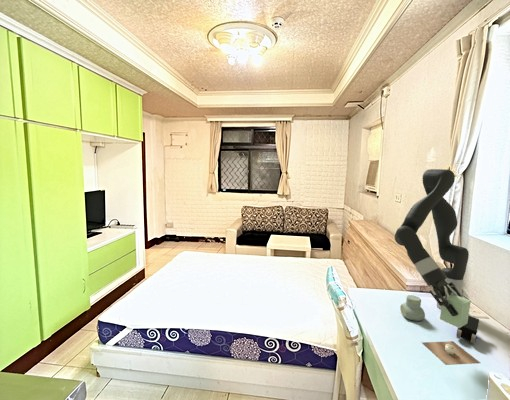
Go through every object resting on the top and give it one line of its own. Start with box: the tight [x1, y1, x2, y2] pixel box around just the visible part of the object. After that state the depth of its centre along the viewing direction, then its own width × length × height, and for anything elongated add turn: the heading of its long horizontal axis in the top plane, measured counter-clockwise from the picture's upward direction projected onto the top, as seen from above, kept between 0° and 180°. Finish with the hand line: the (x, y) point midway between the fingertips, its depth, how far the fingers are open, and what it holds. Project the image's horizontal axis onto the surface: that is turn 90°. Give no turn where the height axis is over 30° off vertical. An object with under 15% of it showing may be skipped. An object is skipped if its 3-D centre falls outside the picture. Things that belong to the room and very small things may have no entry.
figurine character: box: [455, 315, 480, 345], centre depth 112 cm, size 7×8×15 cm
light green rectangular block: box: [439, 294, 472, 329], centre depth 99 cm, size 6×6×9 cm
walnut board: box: [421, 340, 481, 366], centre depth 102 cm, size 14×12×1 cm
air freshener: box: [399, 294, 426, 322], centre depth 126 cm, size 11×8×10 cm
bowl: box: [445, 344, 455, 355], centre depth 101 cm, size 3×3×2 cm
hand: (460, 313), depth 98 cm, fingers closed on light green rectangular block, 6 cm apart
